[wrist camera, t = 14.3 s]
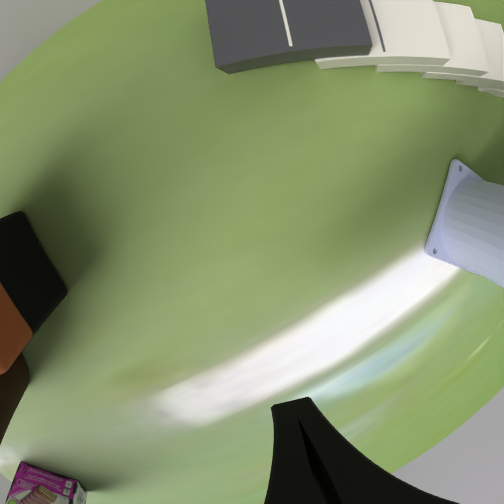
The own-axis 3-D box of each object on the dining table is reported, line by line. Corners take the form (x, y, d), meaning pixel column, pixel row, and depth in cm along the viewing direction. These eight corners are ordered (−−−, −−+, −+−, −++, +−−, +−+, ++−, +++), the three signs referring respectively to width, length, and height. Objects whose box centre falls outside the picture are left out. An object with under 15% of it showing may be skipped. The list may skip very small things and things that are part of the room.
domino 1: (215, 67, 13) (372, 44, 10) (204, -5, 11) (348, -30, 9) (228, 74, 15) (368, 55, 12) (217, 7, 13) (348, -15, 11)
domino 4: (406, 20, 14) (492, 31, 11) (421, 78, 16) (506, 86, 13) (409, 11, 12) (500, 24, 9) (426, 72, 14) (517, 83, 11)
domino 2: (305, 5, 13) (422, 0, 10) (320, 69, 15) (442, 66, 12) (298, -8, 12) (427, -13, 9) (315, 61, 13) (451, 58, 10)
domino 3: (360, 11, 14) (462, 16, 11) (376, 72, 15) (479, 76, 12) (360, -1, 12) (469, 6, 9) (377, 65, 14) (489, 71, 11)
